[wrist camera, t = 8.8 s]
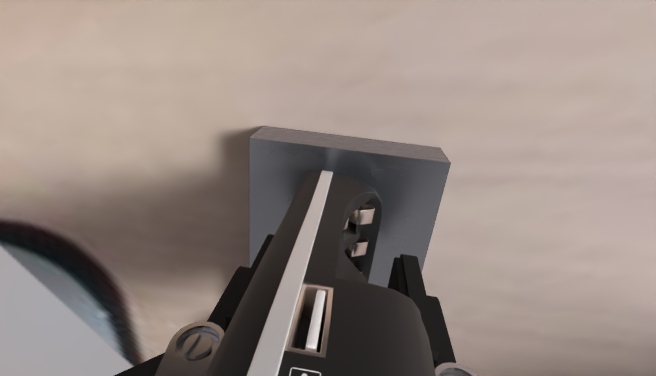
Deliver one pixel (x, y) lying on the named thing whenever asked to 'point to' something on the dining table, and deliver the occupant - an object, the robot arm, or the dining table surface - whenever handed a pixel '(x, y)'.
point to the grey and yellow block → (359, 163)
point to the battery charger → (324, 296)
